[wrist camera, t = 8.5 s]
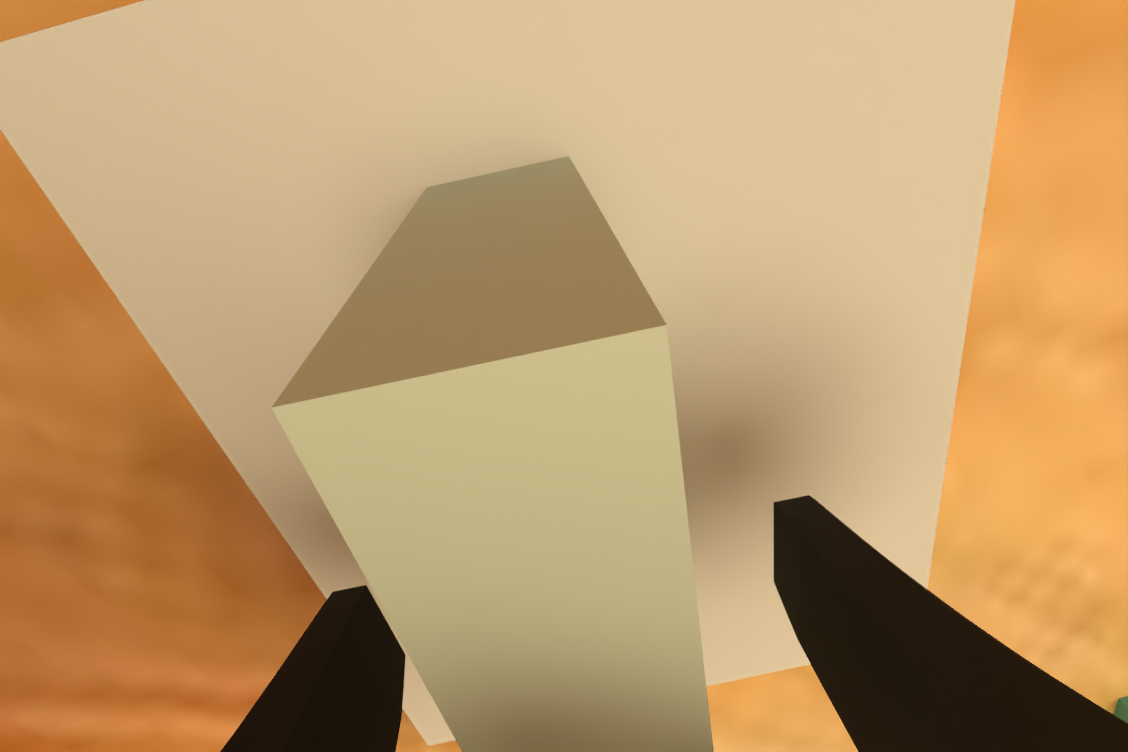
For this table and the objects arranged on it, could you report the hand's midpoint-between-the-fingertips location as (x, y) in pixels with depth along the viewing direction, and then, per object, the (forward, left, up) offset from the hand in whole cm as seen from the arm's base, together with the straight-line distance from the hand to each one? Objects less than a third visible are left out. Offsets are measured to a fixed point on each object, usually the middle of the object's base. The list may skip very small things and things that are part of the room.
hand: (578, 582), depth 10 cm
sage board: (0, 0, -3) cm, 3 cm away
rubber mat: (+1, 0, -4) cm, 4 cm away
